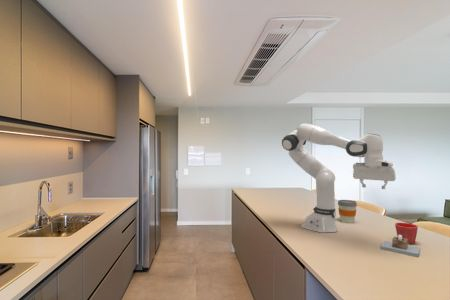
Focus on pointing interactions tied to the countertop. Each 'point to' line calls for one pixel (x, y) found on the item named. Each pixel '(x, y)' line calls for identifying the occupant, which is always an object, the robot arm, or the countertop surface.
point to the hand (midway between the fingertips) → (373, 188)
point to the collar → (400, 243)
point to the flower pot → (407, 231)
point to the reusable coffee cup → (347, 210)
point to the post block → (409, 251)
